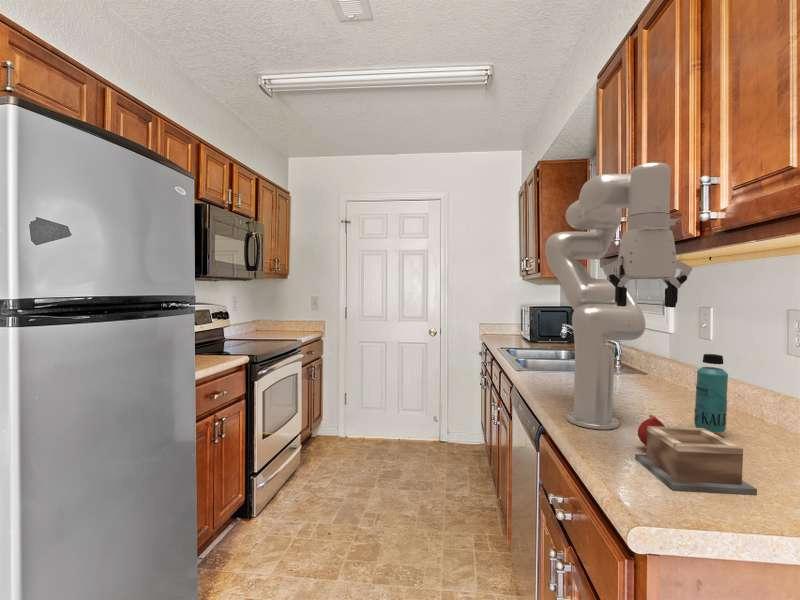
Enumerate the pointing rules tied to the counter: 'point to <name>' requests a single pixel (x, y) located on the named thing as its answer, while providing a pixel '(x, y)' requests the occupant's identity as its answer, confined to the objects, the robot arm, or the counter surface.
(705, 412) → the beverage bottle
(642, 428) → the pomegranate
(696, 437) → the open square box
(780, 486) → the counter surface
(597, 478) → the counter surface
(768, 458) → the counter surface
